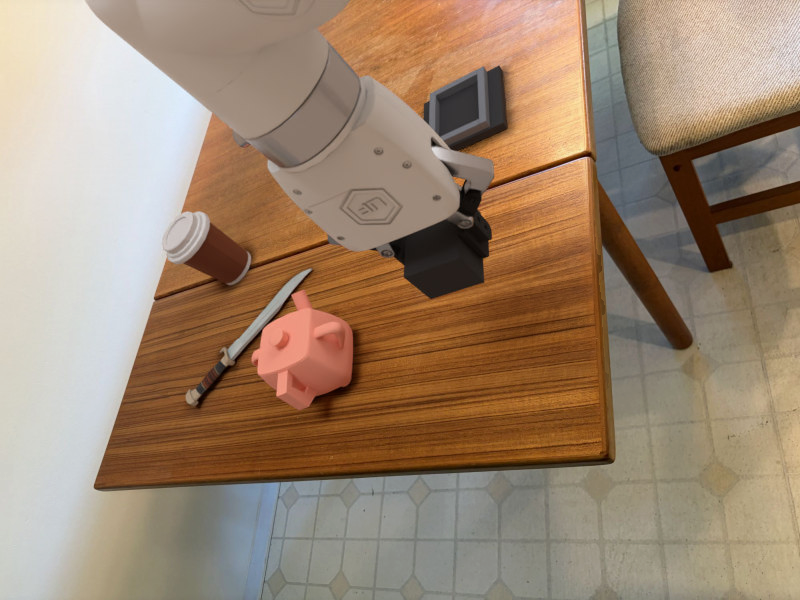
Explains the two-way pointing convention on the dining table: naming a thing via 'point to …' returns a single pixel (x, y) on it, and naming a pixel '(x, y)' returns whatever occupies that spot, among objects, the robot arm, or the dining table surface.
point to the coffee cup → (205, 248)
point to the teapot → (305, 353)
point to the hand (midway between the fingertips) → (453, 253)
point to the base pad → (468, 108)
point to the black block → (441, 261)
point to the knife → (244, 339)
